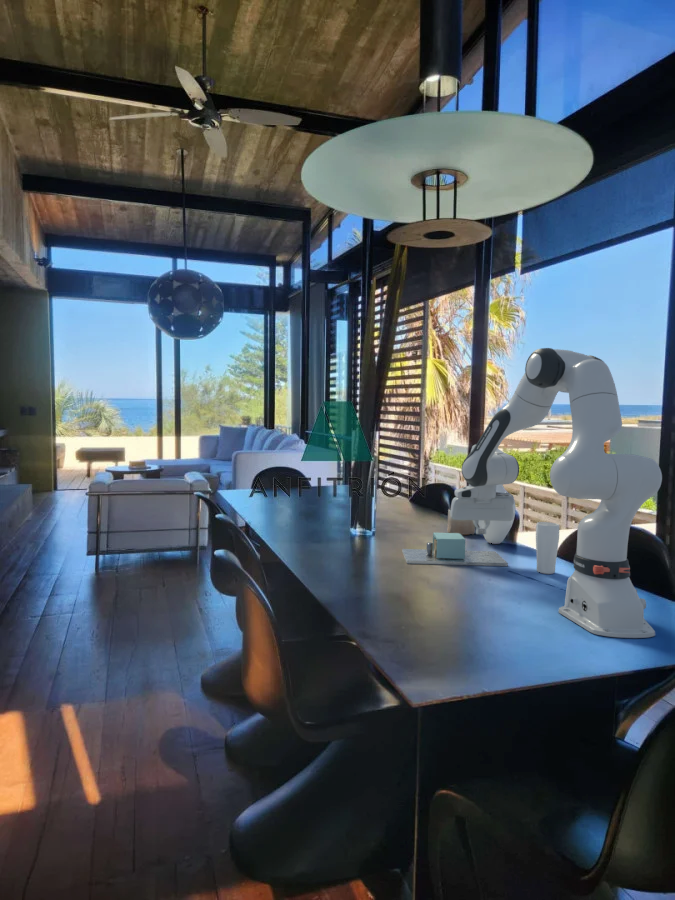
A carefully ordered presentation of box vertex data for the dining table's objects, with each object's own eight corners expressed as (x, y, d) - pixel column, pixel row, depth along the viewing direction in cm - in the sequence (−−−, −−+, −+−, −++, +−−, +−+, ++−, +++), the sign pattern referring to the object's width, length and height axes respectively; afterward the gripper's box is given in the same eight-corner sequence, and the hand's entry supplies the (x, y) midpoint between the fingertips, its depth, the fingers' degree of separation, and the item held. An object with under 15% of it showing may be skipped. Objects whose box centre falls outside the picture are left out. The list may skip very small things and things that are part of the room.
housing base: (507, 566, 186) (508, 550, 186) (406, 563, 187) (407, 547, 186) (495, 554, 202) (495, 539, 202) (402, 551, 202) (402, 537, 202)
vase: (499, 538, 229) (502, 467, 227) (522, 546, 215) (525, 470, 214) (467, 540, 224) (469, 467, 223) (488, 548, 211) (491, 470, 209)
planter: (477, 536, 232) (478, 512, 232) (449, 535, 233) (450, 511, 232) (471, 530, 243) (472, 507, 243) (445, 530, 243) (445, 507, 243)
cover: (464, 558, 189) (465, 539, 189) (436, 558, 189) (437, 538, 189) (459, 551, 199) (459, 533, 199) (432, 550, 199) (433, 532, 199)
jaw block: (447, 557, 192) (448, 542, 192) (435, 556, 192) (436, 541, 192) (445, 554, 196) (446, 539, 196) (433, 553, 196) (434, 539, 196)
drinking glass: (559, 576, 176) (561, 526, 175) (535, 574, 177) (537, 525, 176) (555, 570, 182) (557, 522, 181) (532, 568, 184) (534, 521, 183)
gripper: (511, 491, 195) (510, 532, 196) (449, 490, 196) (448, 531, 196) (516, 493, 189) (515, 536, 190) (453, 492, 189) (452, 534, 190)
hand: (481, 533), depth 193 cm, fingers closed
